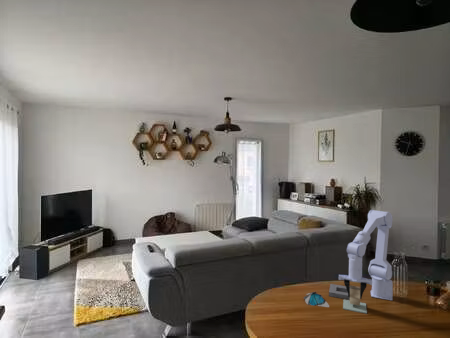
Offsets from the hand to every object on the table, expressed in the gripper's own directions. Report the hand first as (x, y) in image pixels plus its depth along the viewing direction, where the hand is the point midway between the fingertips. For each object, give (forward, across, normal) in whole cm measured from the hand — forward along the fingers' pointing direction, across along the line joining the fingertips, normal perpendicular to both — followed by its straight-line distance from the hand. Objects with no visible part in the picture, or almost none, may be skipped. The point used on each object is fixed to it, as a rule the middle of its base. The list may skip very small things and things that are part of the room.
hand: (354, 297), depth 139 cm
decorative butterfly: (+5, -18, -3) cm, 19 cm away
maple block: (+3, 0, 0) cm, 3 cm away
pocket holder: (+5, -6, +13) cm, 15 cm away
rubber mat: (+5, 0, 0) cm, 5 cm away
